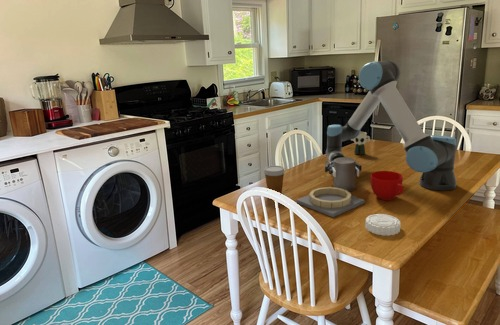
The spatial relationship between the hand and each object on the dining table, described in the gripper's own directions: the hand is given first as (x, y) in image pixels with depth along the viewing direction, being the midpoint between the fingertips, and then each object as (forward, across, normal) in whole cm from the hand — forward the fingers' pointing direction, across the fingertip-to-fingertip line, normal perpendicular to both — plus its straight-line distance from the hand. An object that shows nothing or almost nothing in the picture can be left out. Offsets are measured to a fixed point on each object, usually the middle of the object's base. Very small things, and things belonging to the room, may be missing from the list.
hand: (346, 173), depth 171 cm
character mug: (-62, -21, -9) cm, 66 cm away
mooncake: (+37, -6, -9) cm, 38 cm away
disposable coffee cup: (-1, +32, -9) cm, 33 cm away
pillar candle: (-4, 0, -9) cm, 10 cm away
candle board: (+13, +9, -8) cm, 18 cm away
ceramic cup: (+10, -16, -9) cm, 21 cm away
